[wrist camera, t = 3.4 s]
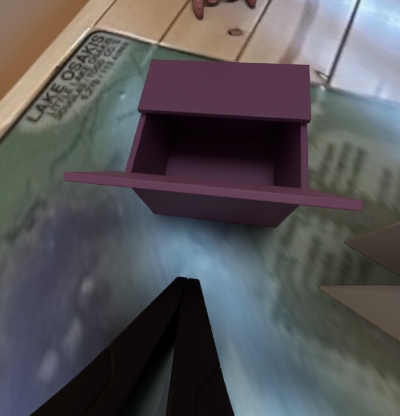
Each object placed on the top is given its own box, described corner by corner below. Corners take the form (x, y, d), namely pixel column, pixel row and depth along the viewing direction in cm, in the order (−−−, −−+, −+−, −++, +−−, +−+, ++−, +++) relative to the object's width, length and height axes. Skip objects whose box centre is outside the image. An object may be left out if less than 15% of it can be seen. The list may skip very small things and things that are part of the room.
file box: (276, 227, 23) (314, 191, 14) (153, 213, 24) (118, 172, 15) (278, 138, 26) (310, 63, 17) (171, 130, 28) (151, 58, 19)
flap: (313, 189, 14) (312, 195, 14) (119, 171, 15) (119, 177, 15) (363, 201, 9) (361, 211, 9) (63, 172, 10) (63, 180, 10)
